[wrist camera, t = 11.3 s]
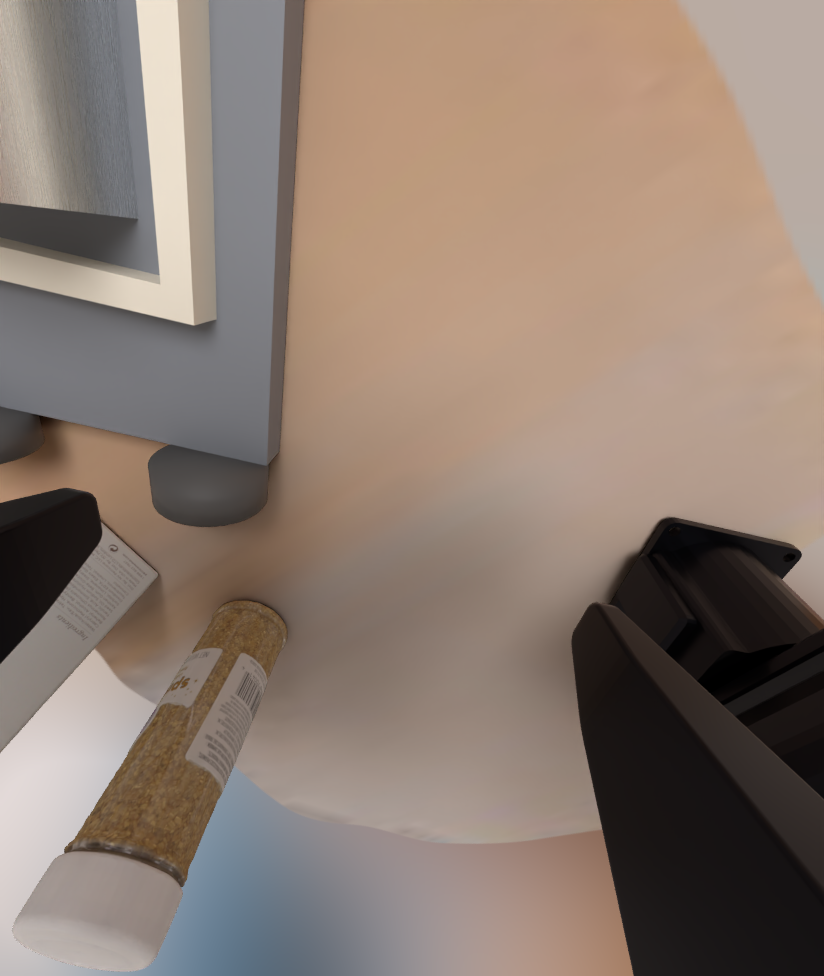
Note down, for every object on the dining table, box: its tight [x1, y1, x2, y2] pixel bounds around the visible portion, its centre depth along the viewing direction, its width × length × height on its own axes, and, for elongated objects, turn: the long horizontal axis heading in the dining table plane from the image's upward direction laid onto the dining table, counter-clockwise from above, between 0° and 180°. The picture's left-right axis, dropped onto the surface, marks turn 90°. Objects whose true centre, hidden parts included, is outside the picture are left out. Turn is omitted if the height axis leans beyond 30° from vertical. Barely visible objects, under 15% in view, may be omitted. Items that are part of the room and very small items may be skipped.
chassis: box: [0, 0, 304, 527], centre depth 11 cm, size 14×25×4 cm, turn 168°
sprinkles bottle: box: [12, 601, 287, 972], centre depth 19 cm, size 5×5×14 cm
